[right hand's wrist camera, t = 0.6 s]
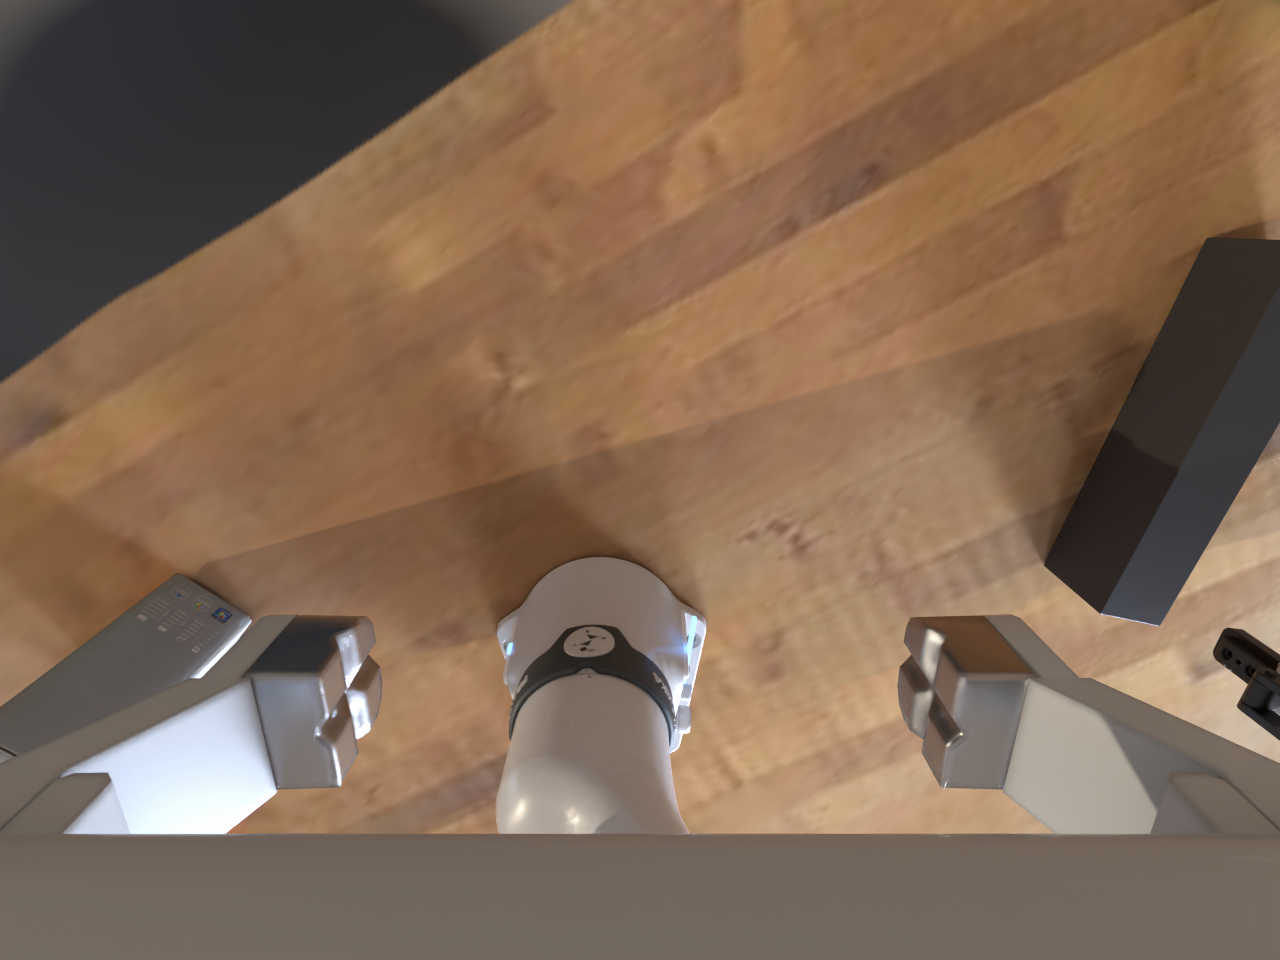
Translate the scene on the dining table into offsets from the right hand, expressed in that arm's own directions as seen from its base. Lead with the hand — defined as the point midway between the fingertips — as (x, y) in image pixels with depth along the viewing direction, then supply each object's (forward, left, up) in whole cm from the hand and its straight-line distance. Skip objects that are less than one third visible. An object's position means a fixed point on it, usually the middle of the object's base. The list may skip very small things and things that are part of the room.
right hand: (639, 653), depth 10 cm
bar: (-11, -41, -44) cm, 61 cm away
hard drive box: (-29, +43, -44) cm, 68 cm away
